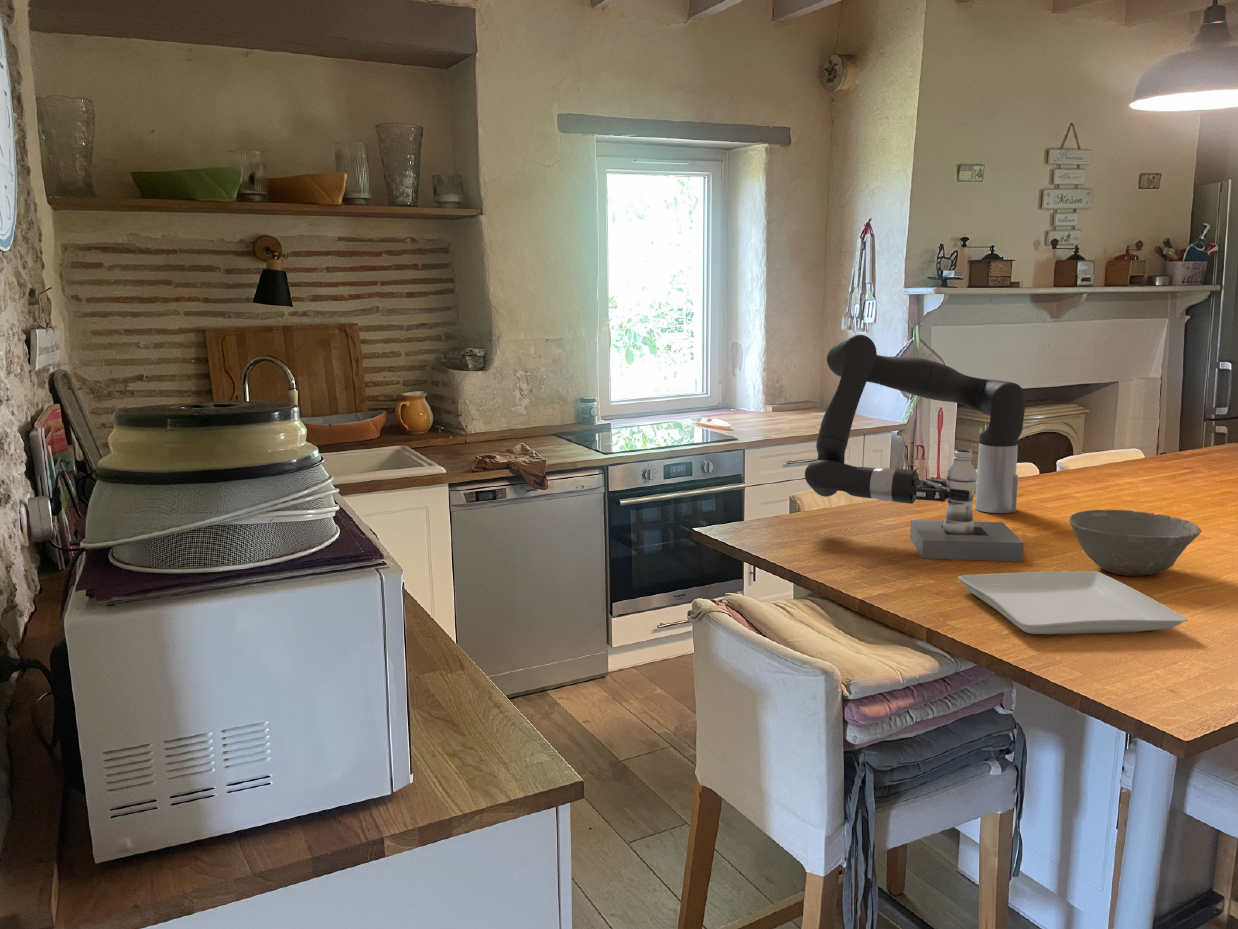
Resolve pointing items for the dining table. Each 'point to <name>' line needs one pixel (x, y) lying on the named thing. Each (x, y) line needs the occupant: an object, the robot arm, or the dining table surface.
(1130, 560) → the ceramic bowl
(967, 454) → the plastic bottle
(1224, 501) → the dining table surface
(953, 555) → the socket block
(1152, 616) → the square plate
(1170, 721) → the dining table surface
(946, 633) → the dining table surface
